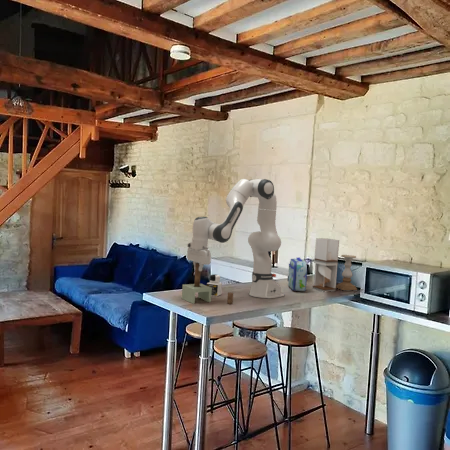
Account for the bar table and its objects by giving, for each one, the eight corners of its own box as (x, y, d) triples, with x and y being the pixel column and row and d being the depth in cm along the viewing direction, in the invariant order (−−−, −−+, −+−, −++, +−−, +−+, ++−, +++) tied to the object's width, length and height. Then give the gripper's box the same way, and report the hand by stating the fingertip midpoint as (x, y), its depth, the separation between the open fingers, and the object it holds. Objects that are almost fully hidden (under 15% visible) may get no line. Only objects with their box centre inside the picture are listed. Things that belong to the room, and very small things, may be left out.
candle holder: (357, 291, 309) (359, 257, 307) (342, 291, 306) (345, 256, 305) (349, 288, 319) (351, 254, 318) (335, 287, 317) (337, 254, 315)
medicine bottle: (206, 294, 266) (207, 274, 266) (210, 292, 273) (212, 273, 272) (217, 296, 264) (218, 276, 263) (221, 294, 270) (222, 274, 270)
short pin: (230, 302, 249) (231, 292, 249) (233, 304, 246) (234, 293, 246) (226, 303, 247) (226, 292, 247) (229, 304, 245) (229, 293, 244)
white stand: (312, 288, 308) (316, 238, 306) (323, 287, 314) (327, 238, 312) (323, 291, 298) (327, 240, 296) (335, 291, 304) (339, 240, 302)
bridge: (200, 297, 258) (200, 283, 258) (210, 301, 248) (211, 287, 248) (181, 298, 252) (182, 284, 251) (192, 303, 242) (193, 288, 241)
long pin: (197, 285, 251) (199, 262, 251) (200, 286, 249) (202, 263, 248) (193, 286, 250) (194, 263, 249) (195, 287, 247) (197, 263, 247)
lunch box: (286, 284, 316) (288, 255, 315) (301, 286, 315) (303, 256, 314) (290, 292, 290) (292, 260, 289) (307, 293, 289) (309, 261, 288)
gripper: (214, 247, 241) (212, 273, 242) (195, 243, 258) (194, 267, 259) (204, 248, 238) (202, 273, 239) (185, 243, 255) (184, 267, 256)
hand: (198, 270), depth 249 cm, fingers closed on long pin, 3 cm apart
